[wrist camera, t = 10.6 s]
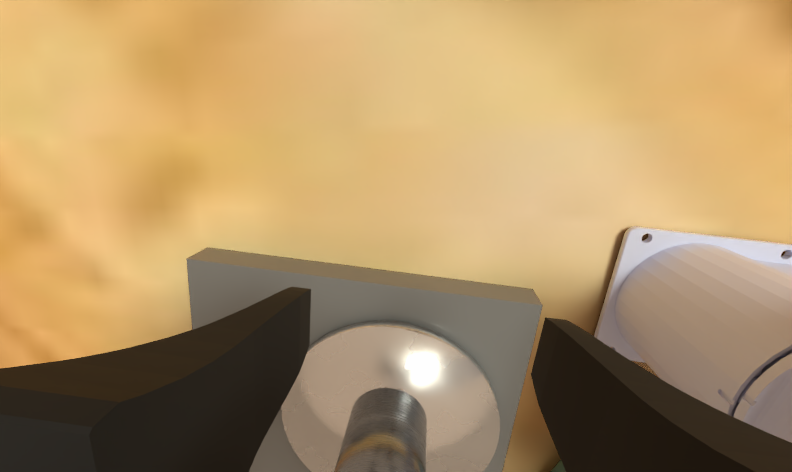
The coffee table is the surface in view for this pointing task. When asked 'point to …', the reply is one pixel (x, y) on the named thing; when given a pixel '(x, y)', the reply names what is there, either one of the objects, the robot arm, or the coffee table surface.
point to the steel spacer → (384, 434)
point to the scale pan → (399, 369)
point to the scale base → (376, 300)
